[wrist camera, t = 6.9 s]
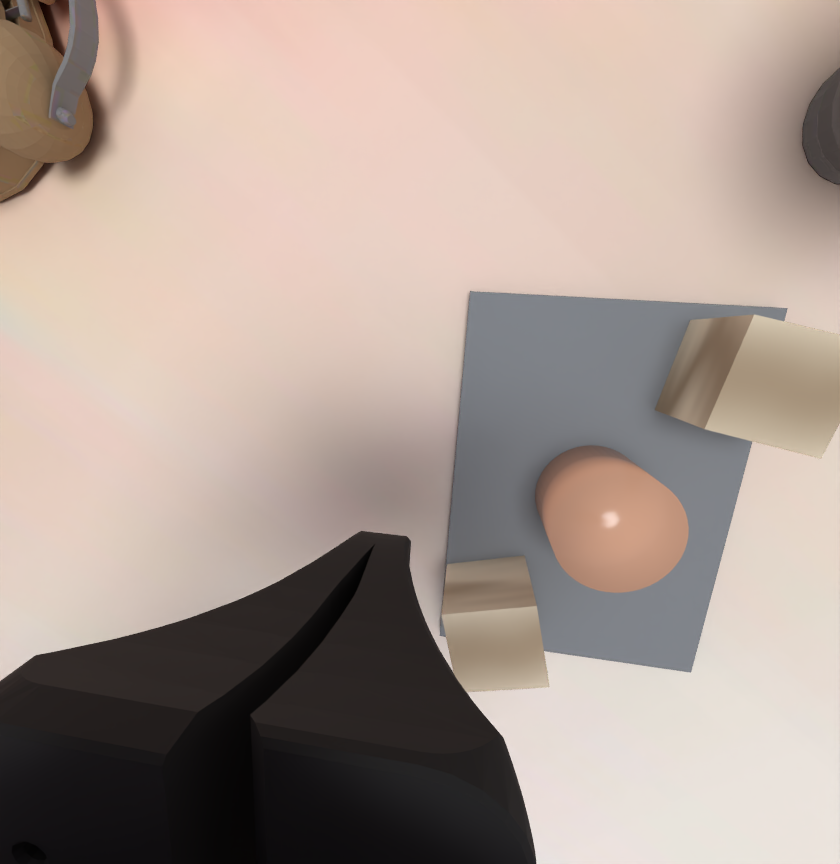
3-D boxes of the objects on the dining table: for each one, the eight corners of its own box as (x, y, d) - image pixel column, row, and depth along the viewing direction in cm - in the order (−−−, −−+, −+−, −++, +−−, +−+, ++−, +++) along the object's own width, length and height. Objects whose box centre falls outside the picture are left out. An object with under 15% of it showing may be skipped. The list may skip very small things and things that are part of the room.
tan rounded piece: (632, 549, 20) (672, 600, 16) (528, 536, 20) (542, 583, 16) (653, 450, 18) (702, 480, 15) (542, 440, 19) (561, 466, 15)
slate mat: (685, 663, 21) (690, 672, 21) (440, 628, 23) (439, 635, 22) (776, 309, 17) (787, 308, 16) (470, 292, 18) (470, 291, 18)
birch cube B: (745, 432, 18) (820, 459, 14) (654, 409, 18) (704, 429, 14) (786, 343, 17) (880, 344, 13) (690, 320, 17) (754, 314, 13)
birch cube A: (535, 623, 21) (549, 687, 17) (460, 629, 22) (457, 692, 18) (524, 555, 20) (536, 605, 17) (447, 564, 21) (441, 614, 17)
